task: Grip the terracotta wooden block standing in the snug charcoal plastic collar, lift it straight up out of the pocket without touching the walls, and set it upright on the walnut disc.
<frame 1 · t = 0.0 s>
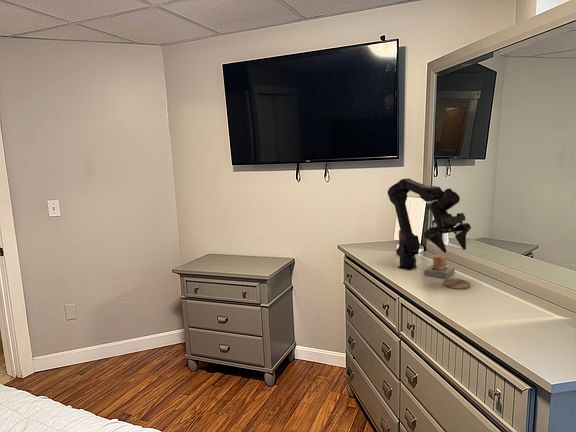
hand: (455, 250, 150), 15 cm above the dresser top, tool tilted 35°, fingers open, 9 cm apart
block: (439, 265, 169), in the collar
collar: (439, 274, 169), on the dresser top
can: (405, 256, 201), on the dresser top
pad: (456, 285, 155), on the dresser top
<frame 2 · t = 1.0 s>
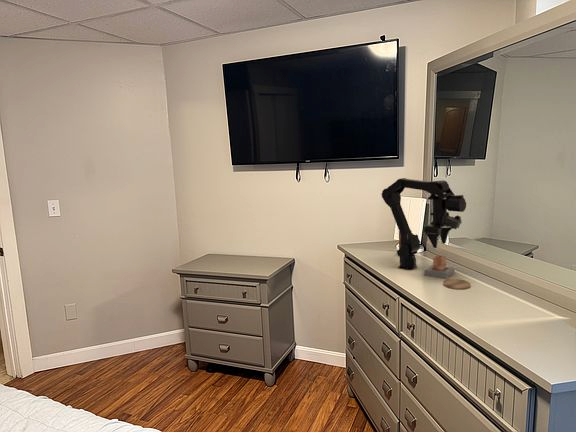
hand: (439, 245, 167), 13 cm above the dresser top, tool pointing down, fingers open, 9 cm apart
nothing on the dresser top moved.
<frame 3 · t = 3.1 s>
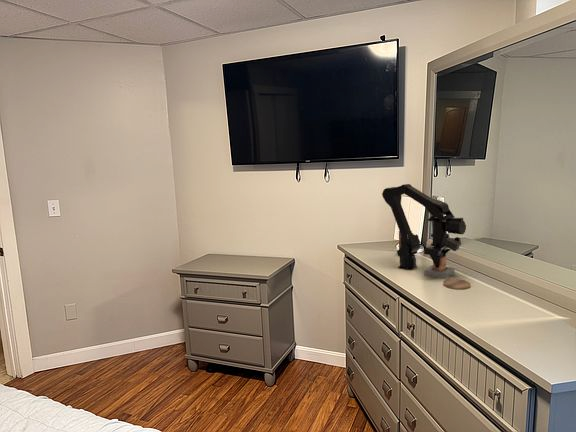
hand: (439, 266, 169), 4 cm above the dresser top, tool pointing down, fingers closed on block, 4 cm apart
block: (439, 265, 169), in the collar, touching gripper
everything else where it was.
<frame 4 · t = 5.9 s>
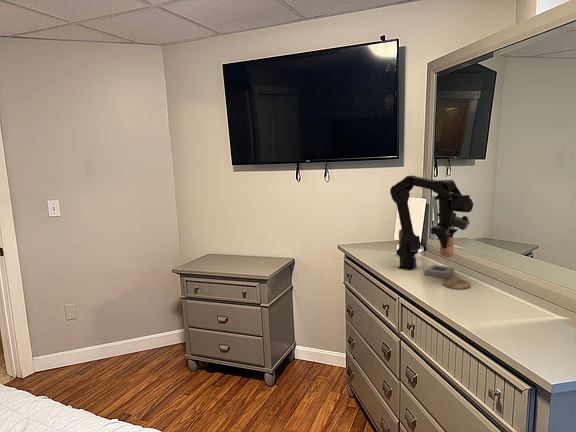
hand: (446, 247, 162), 13 cm above the dresser top, tool pointing down, fingers closed on block, 4 cm apart
block: (446, 246, 161), point 14 cm above the dresser top, touching gripper
everything else where it was.
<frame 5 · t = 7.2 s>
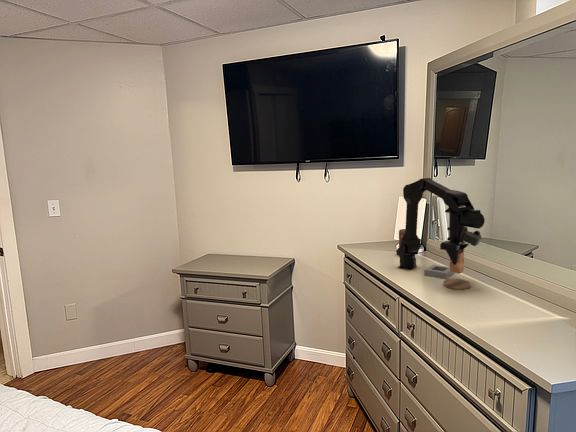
hand: (456, 263, 153), 9 cm above the dresser top, tool pointing down, fingers closed on block, 4 cm apart
block: (456, 261, 153), point 10 cm above the dresser top, touching gripper
everything else where it was.
when the fingers open (6 cm above the dresser top, at t = 8.5 s): block drops 1 cm, resting on pad.
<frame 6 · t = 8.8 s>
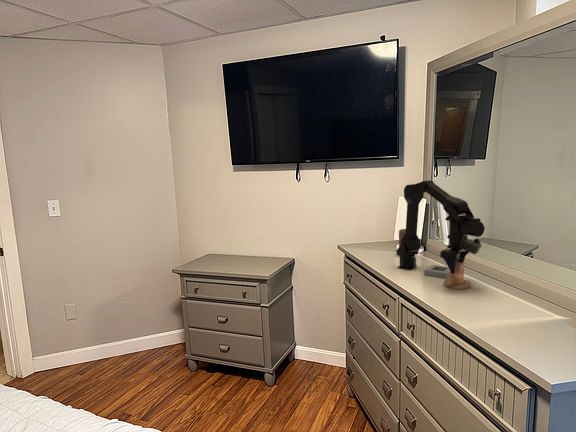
hand: (456, 270, 154), 6 cm above the dresser top, tool pointing down, fingers open, 8 cm apart
block: (456, 273, 154), on the pad, point 5 cm above the dresser top
everything else where it was.
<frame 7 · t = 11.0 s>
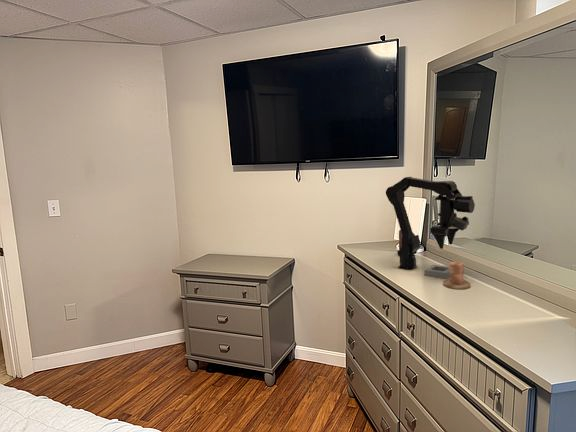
hand: (446, 246, 167), 13 cm above the dresser top, tool pointing down, fingers open, 9 cm apart
nothing on the dresser top moved.
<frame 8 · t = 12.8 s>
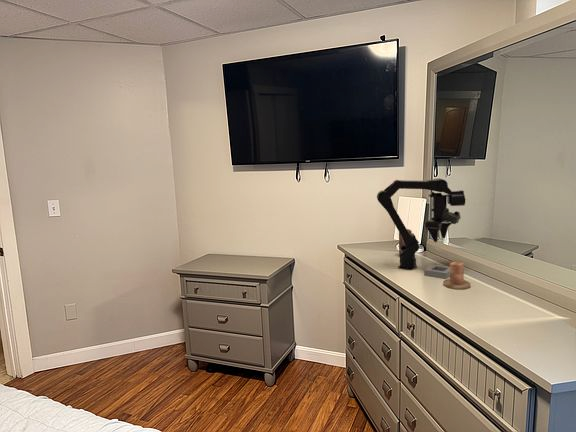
hand: (439, 240, 177), 13 cm above the dresser top, tool pointing down, fingers open, 9 cm apart
nothing on the dresser top moved.
at the end: block 0.0 cm off-centre on the pad, point 5.0 cm above the pad's base; block tilted 0°; the gripper is holding nothing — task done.
